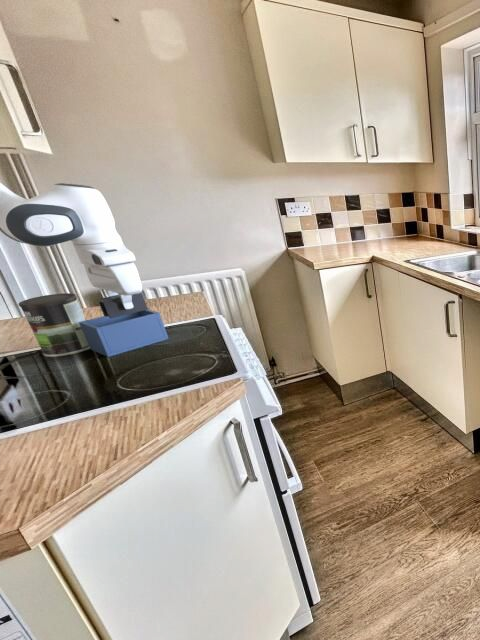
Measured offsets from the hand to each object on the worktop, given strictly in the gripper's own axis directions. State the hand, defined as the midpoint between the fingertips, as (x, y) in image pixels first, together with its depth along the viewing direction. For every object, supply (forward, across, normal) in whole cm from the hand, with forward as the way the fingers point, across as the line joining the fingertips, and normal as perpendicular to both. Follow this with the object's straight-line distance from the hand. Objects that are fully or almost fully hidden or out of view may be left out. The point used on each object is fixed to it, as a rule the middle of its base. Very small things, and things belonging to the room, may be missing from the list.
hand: (124, 307), depth 109 cm
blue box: (+11, -5, 0) cm, 12 cm away
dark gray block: (+2, 0, 0) cm, 2 cm away
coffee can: (+11, -15, -9) cm, 21 cm away
